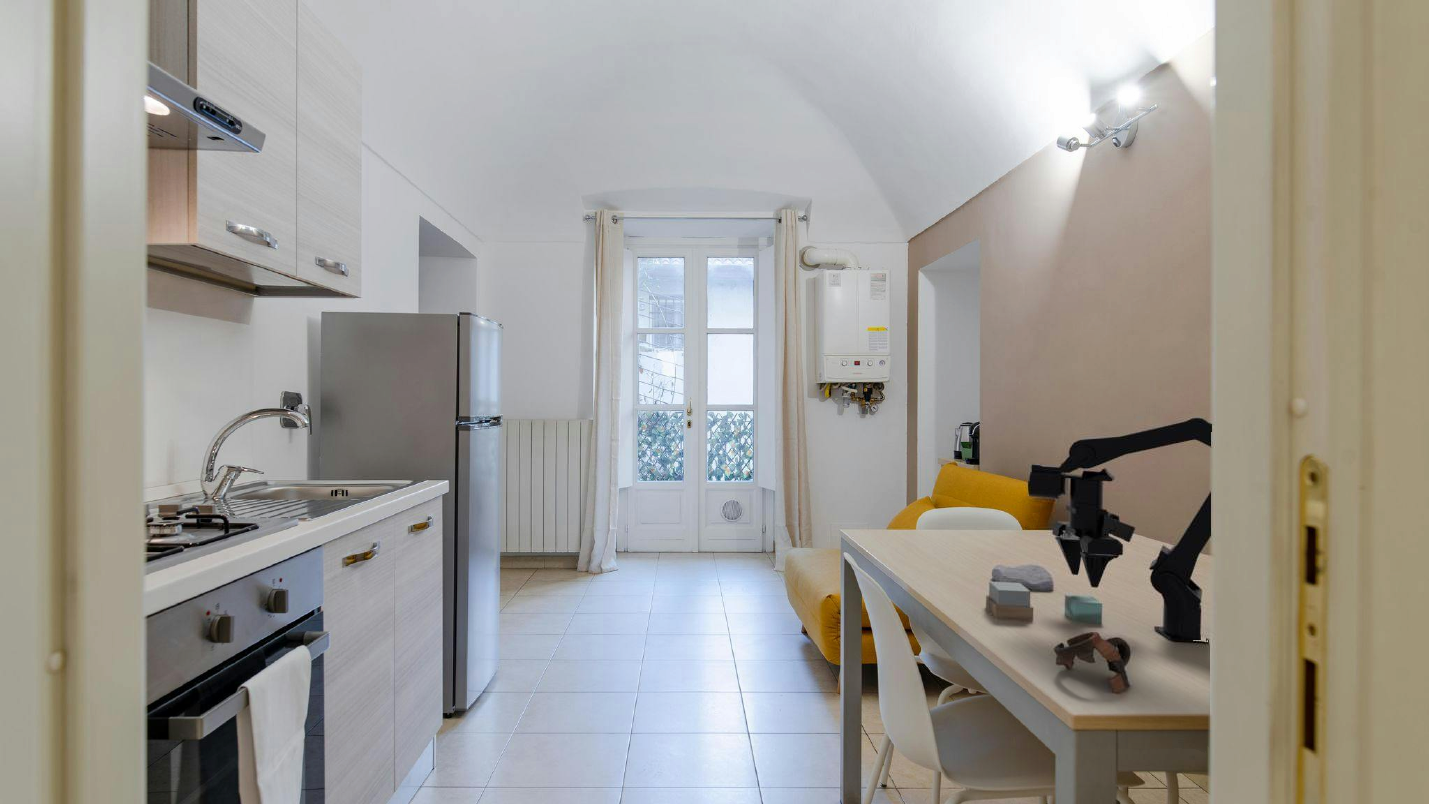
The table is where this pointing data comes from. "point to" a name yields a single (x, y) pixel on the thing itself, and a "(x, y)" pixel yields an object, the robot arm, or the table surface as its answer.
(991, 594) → the grey middle block
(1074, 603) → the teal block
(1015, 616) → the walnut base block
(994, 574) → the stone block
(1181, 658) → the table surface
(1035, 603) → the table surface
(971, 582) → the table surface
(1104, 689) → the table surface
